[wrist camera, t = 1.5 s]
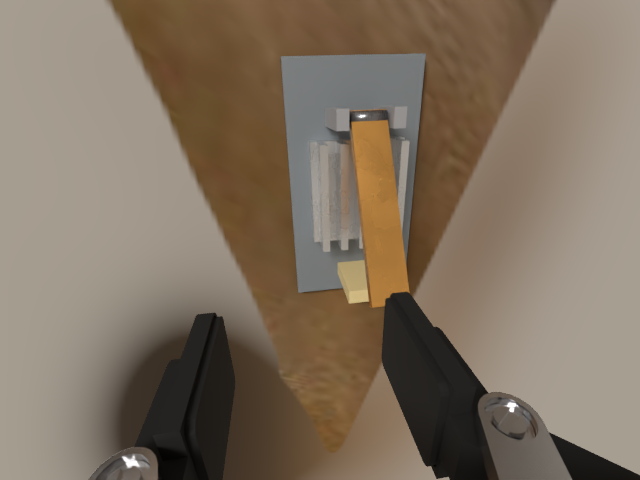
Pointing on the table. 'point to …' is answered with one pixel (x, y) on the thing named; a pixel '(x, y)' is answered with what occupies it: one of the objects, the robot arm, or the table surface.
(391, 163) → the strap
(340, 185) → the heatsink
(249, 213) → the table surface
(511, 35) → the table surface
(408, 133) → the cpu board
